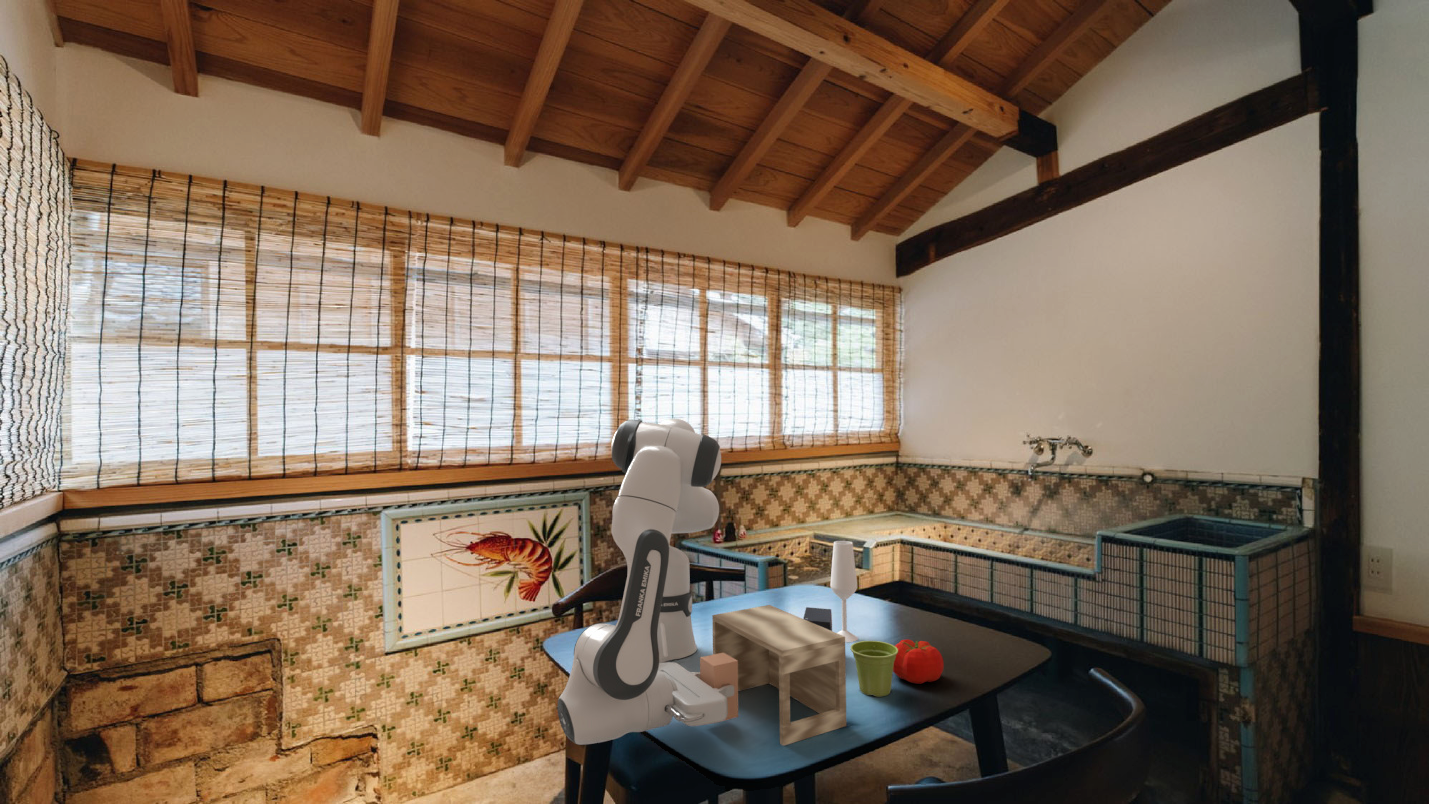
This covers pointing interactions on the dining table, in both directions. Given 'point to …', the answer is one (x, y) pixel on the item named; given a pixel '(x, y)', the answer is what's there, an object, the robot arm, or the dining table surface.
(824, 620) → the small box
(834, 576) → the champagne flute
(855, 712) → the dining table surface
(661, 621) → the robot arm
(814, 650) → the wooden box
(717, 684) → the terracotta block
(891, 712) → the dining table surface
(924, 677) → the tomato
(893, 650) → the plant pot
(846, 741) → the dining table surface
